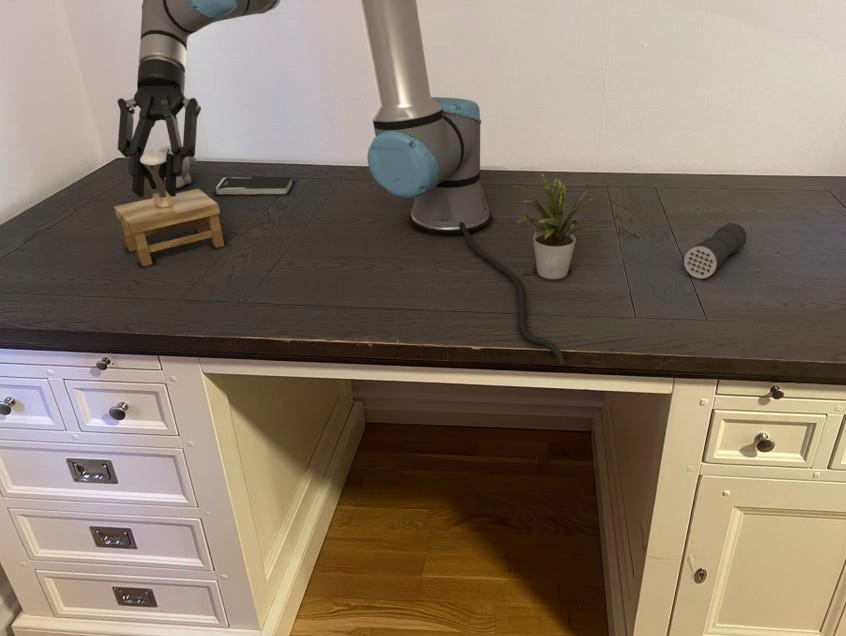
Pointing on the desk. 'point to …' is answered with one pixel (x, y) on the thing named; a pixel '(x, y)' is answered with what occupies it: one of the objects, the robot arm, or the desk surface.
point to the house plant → (553, 233)
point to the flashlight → (714, 250)
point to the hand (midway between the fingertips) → (154, 193)
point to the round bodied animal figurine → (187, 163)
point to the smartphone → (254, 185)
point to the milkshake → (156, 177)
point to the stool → (169, 222)
